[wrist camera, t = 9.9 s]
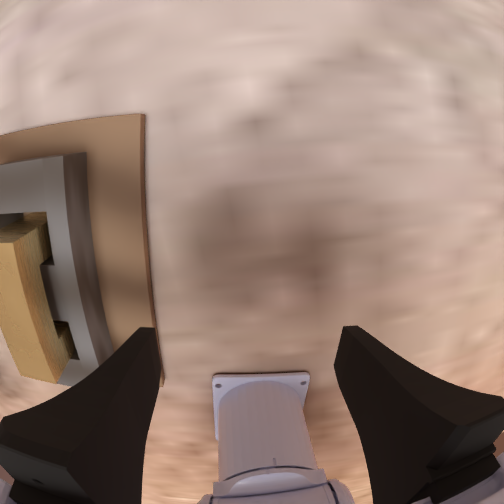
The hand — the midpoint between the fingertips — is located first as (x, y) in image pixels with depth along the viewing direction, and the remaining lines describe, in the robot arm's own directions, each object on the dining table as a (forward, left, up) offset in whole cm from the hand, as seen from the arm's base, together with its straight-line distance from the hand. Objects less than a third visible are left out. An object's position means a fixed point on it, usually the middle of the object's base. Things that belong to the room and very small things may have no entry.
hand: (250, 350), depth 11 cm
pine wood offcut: (-1, +13, -8) cm, 15 cm away
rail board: (-1, +13, -9) cm, 16 cm away
